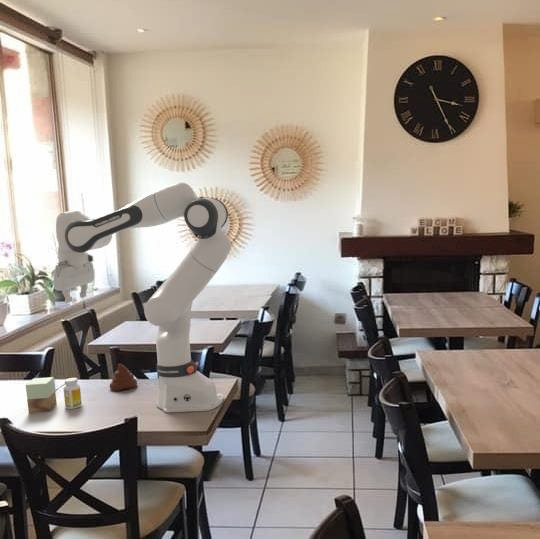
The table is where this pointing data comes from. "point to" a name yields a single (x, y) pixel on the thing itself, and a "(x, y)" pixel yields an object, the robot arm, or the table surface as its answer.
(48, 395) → the tower top
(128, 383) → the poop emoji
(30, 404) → the tower base
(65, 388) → the supplement bottle
